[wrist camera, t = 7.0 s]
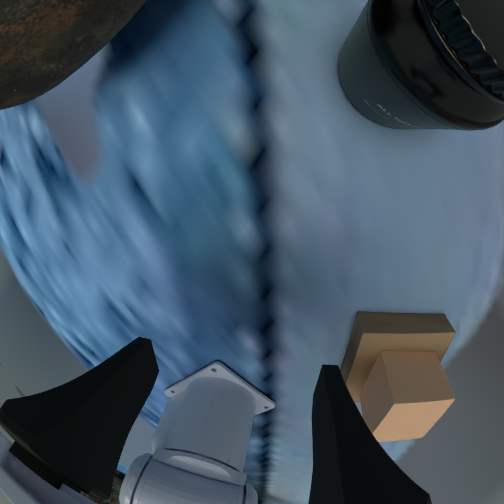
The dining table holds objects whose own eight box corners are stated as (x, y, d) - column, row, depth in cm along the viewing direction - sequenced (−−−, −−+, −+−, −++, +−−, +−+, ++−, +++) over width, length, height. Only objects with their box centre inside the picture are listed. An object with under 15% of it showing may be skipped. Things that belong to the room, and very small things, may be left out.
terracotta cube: (410, 392, 19) (421, 437, 14) (359, 393, 20) (365, 442, 15) (435, 351, 17) (455, 398, 12) (380, 350, 18) (394, 403, 13)
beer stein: (80, 452, 54) (49, 507, 31) (121, 468, 49) (89, 535, 26) (112, 477, 59) (87, 528, 37) (155, 491, 54) (131, 551, 32)
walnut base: (411, 376, 22) (418, 398, 19) (336, 377, 23) (338, 402, 20) (442, 310, 19) (455, 332, 16) (356, 308, 20) (363, 332, 17)
